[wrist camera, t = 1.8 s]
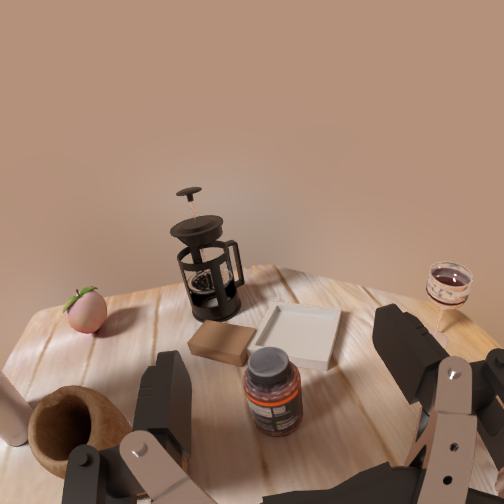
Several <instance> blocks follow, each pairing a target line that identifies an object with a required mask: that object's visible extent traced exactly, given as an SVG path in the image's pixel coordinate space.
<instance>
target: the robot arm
mask: <svg viewBox="0 0 504 504" xmlns="http://www.w3.org/2000/svg"><path fill="white" fill-rule="evenodd" d="M372 338H373V344H374V347H375V349H376V351H377V352H378V354H379V356H380V357H381V359H382V360H383V362H384V363H385V365H386V367H387V368H388V370H389V371H390V373H391V375H392V376H393V378H394V380H395V381H396V383H397V384H398V386H399V388H400V389H401V391H402V393H403V394H404V396H405V398H406V399H407V401H408V403H409V404H410V405H411V404H413V403H415V402H418V401H419V402H420V403H421V407H420V411H419V416H418V421H417V426H416V431H415V435H414V439H413V443H412V447H411V450H410V452H409V454H408V456H407V459H406V461H405V464H404V466H395V467H391V466H390V464H389V462H385V463H383V464H381V465H378V466H375V467H373V468H370V469H368V470H365V471H362V472H359V473H358V474H356V475H355V476H353V477H351V478H350V479H348V480H346V481H345V482H343V483H341V484H339V485H337V486H336V487H334V488H332V489H328V490H310V491H292V492H287V493H282V494H276V495H270V496H264V497H262V498H263V503H260V504H504V409H503V408H502V406H501V405H500V403H499V402H498V400H497V399H496V396H497V395H498V396H499V397H500V399H501V400H502V402H503V403H504V349H499V348H497V349H493V350H491V351H490V352H489V353H488V355H487V357H486V359H485V360H482V361H477V362H472V363H468V362H467V361H466V360H465V359H463V358H461V357H457V356H450V355H449V354H448V353H447V352H446V351H445V349H444V348H443V347H442V346H441V345H440V343H439V342H438V341H437V340H436V339H435V338H434V336H433V335H432V334H431V333H429V331H428V329H427V328H426V327H424V325H423V324H422V323H421V321H420V320H419V319H418V318H417V317H415V316H414V315H412V314H410V313H408V312H404V313H403V312H402V311H401V310H400V309H399V308H398V306H397V305H396V304H389V305H386V306H383V307H379V308H377V309H376V312H375V320H374V328H373V336H372ZM138 397H139V398H138V400H137V405H136V411H135V417H134V423H133V429H132V432H131V433H129V434H128V435H126V436H125V437H124V438H123V440H122V441H121V444H120V445H118V446H115V447H111V448H107V449H104V450H100V451H98V450H97V449H95V448H94V447H93V446H91V445H86V444H84V445H79V446H77V447H75V448H74V449H73V450H72V451H71V453H70V455H69V457H68V462H67V468H66V474H65V481H64V488H63V496H62V504H137V494H140V493H144V492H146V493H147V494H148V495H149V497H150V498H151V504H218V503H217V502H216V501H215V500H214V499H213V498H212V497H211V496H209V495H208V494H207V493H206V492H205V491H204V490H203V489H202V488H201V487H200V486H199V485H198V484H197V483H196V482H195V481H194V480H193V479H192V477H191V476H190V475H189V474H188V473H187V472H186V471H185V470H184V469H183V468H182V458H190V457H191V401H192V386H191V380H190V376H189V374H188V372H187V370H186V367H185V365H184V363H183V361H182V358H181V356H180V354H179V352H178V351H177V350H174V351H167V352H159V353H158V355H157V361H156V366H149V367H148V368H147V370H146V371H145V373H144V374H143V376H142V378H141V384H140V389H139V394H138ZM33 411H34V410H33V408H32V407H31V406H30V405H29V404H28V403H27V402H26V401H25V399H24V398H23V397H22V396H21V395H20V393H19V392H18V391H17V390H16V388H15V387H14V386H13V385H12V383H11V382H10V381H9V380H8V378H7V377H6V376H5V374H4V373H3V372H2V370H1V369H0V437H1V438H2V439H3V440H4V441H5V442H6V443H7V444H9V445H11V446H19V445H22V444H23V443H25V442H26V441H27V440H28V426H29V421H30V418H31V415H32V413H33ZM476 431H478V433H479V435H480V436H481V438H482V440H483V442H484V444H485V446H486V447H487V449H488V451H489V453H490V455H491V457H492V459H493V461H494V463H495V465H496V467H497V469H498V471H499V473H498V477H497V482H496V483H495V489H496V490H497V491H499V495H498V496H495V495H491V494H488V493H485V492H481V491H478V490H475V489H472V488H469V482H470V477H471V471H472V465H473V458H474V451H475V442H476Z"/></svg>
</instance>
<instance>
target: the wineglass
mask: <svg viewBox="0 0 504 504" xmlns="http://www.w3.org/2000/svg"><path fill="white" fill-rule="evenodd" d="M429 273H430V276H429V278H428V280H427V286H426V290H427V294H428V297H429V299H430V300H431V301H432V302H433V304H434V305H435V306H437V307H438V308H440V314H439V318H438V323H437V327H436V330H428V331H429V333H431V334H432V335H433V336H434V338H435V339H436V340H437V341H438V342H439V343H440V345H441V346H442V347H443V348H445V347H446V346H447V344H448V340H447V337H446V336H445V334H443V333H442V332H440V331H438V330H439V327H440V324H441V322H442V319H443V316H444V313H445V310H452V309H455V308H458V307H460V306H461V305H463V304H464V303H465V301H466V300H467V298H468V296H469V293H470V284H471V282H472V280H473V276H472V274H471V272H470V271H469V270H468V269H467V268H466V267H464V266H462V265H460V264H457V263H453V262H438V263H435V264H434V265H432V266H431V267H430V270H429Z"/></svg>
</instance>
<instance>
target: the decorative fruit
mask: <svg viewBox="0 0 504 504" xmlns="http://www.w3.org/2000/svg"><path fill="white" fill-rule="evenodd" d="M94 289H98V288H96V287H92V286H91V287H86V288H84V289H83V290H82V291H80V292H78V290H76V291H77V293H78V294H77V295H76V296H74V297H72V298H70V299H69V300H68V301H67V302H66V304H65V306H64V309H63V313H64V312H65V316H66V319H67V321H68V323H69V325H70V326H71V327H72V328H73V329H75V330H76V331H78V332H81V333H86V334H89V333H93V332H95V331H97V330H98V329H99V328H100V326H101V325H102V324H103V323H104V322H105V320H106V317H107V305H106V302H105V300H104V298H103V297H102V296H101V295H100V294H98V293H97V292H95V291H94Z"/></svg>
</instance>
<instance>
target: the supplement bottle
mask: <svg viewBox="0 0 504 504" xmlns="http://www.w3.org/2000/svg"><path fill="white" fill-rule="evenodd" d="M243 386H244V390H245V394H246V397H247V400H248V403H249V406H250V409H251V413H252V416H253V419H254V422H255V424H256V426H257V428H258V429H259V430H260V431H261V432H263V433H265V434H267V435H270V436H283V435H287V434H289V433H291V432H293V431H294V430H295V429H296V428H297V427H298V426H299V425H300V423H301V421H302V417H303V409H302V392H301V379H300V373H299V370H298V369H297V367H296V366H295V365H294V364H293V363H292V362H291V361H289V358H288V355H287V353H286V352H285V351H283V350H282V349H280V348H277V347H264V348H260V349H258V350H256V351H255V352H253V353H252V354H251V356H250V357H249V359H248V368H247V370H246V371H245V374H244V377H243Z"/></svg>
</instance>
